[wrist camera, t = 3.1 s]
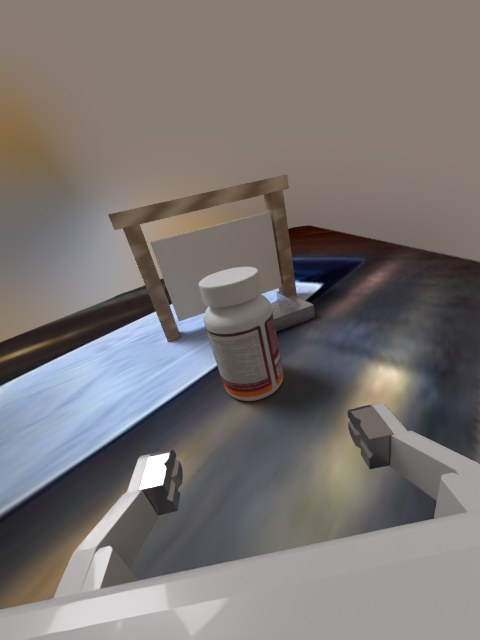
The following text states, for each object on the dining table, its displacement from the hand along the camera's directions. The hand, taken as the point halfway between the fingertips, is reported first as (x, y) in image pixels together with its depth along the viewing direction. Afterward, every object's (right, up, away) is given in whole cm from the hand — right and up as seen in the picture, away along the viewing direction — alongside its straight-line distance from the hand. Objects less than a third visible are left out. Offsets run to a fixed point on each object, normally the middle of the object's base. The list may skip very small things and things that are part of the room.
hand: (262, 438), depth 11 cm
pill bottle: (0, -1, +14) cm, 14 cm away
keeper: (+3, +6, +27) cm, 28 cm away
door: (-3, +9, +30) cm, 31 cm away
